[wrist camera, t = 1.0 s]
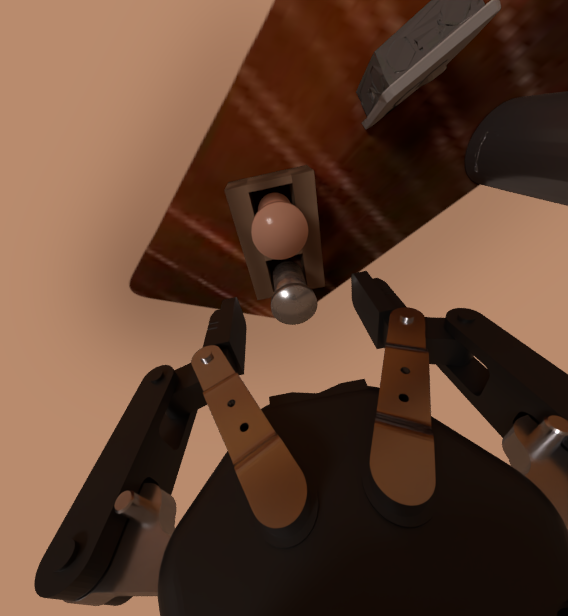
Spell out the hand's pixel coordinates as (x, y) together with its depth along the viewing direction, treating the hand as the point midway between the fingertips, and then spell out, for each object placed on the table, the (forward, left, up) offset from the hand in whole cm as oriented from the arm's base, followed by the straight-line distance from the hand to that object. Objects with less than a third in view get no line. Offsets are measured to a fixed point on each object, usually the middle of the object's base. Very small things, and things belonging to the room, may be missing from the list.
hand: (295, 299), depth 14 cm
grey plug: (0, +8, -18) cm, 20 cm away
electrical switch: (-15, -10, -24) cm, 30 cm away
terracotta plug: (0, 0, -18) cm, 18 cm away
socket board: (0, +4, -24) cm, 24 cm away
